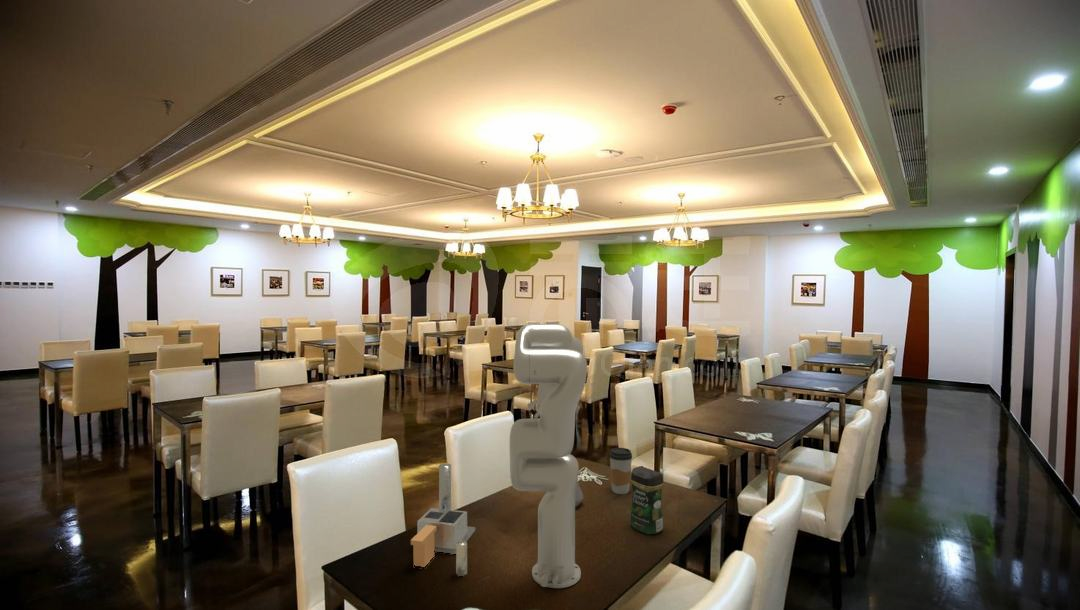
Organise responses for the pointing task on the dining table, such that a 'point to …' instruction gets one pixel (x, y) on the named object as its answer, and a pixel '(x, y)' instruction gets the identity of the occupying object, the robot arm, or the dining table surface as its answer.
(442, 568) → the dining table surface
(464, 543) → the pale grey cylinder
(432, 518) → the pole on box base
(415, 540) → the tan rectangular block
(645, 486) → the coffee jar
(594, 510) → the dining table surface
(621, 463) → the coffee cup
